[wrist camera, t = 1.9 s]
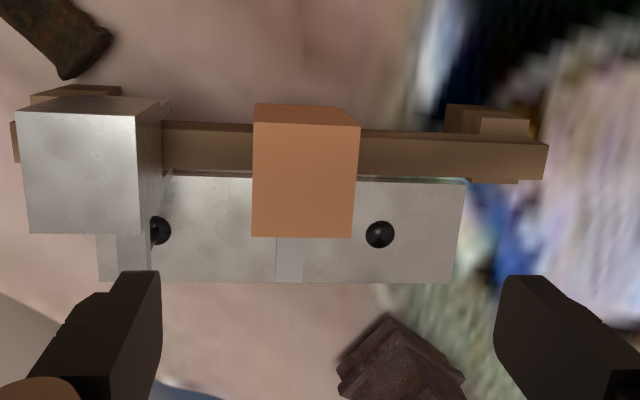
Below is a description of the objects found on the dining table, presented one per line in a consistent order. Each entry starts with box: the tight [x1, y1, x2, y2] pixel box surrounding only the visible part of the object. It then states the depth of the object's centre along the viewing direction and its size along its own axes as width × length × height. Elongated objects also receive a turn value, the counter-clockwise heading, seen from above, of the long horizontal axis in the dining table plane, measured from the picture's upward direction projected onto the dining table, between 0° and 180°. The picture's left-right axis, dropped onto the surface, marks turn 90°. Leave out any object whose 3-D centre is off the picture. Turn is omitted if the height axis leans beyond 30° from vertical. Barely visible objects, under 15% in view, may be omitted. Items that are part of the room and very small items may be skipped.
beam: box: [10, 84, 549, 184], centre depth 30 cm, size 4×28×8 cm, turn 86°
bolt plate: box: [95, 172, 467, 284], centre depth 36 cm, size 8×26×1 cm, turn 86°
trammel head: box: [251, 103, 361, 283], centre depth 28 cm, size 11×4×12 cm, turn 176°
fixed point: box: [14, 95, 173, 276], centre depth 26 cm, size 11×4×12 cm, turn 176°
